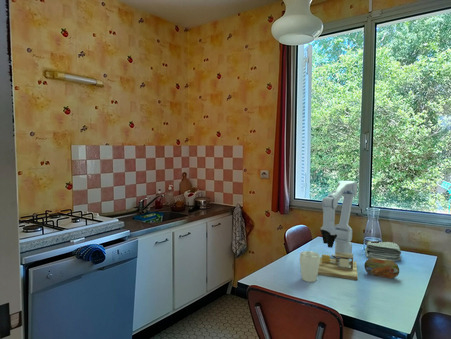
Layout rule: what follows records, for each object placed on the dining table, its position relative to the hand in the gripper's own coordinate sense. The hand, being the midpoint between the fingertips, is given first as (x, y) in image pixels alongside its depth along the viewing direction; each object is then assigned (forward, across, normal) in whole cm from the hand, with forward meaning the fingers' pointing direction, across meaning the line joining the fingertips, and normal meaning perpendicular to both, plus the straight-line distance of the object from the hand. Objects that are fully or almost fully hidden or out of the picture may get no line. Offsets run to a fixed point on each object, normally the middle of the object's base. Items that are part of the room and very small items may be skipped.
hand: (327, 245), depth 162 cm
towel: (+10, -17, +37) cm, 42 cm away
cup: (+12, +18, -14) cm, 26 cm away
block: (+9, +5, +7) cm, 12 cm away
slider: (+9, +4, +3) cm, 10 cm away
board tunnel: (+11, +5, +3) cm, 12 cm away
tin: (+11, +13, +22) cm, 28 cm away
